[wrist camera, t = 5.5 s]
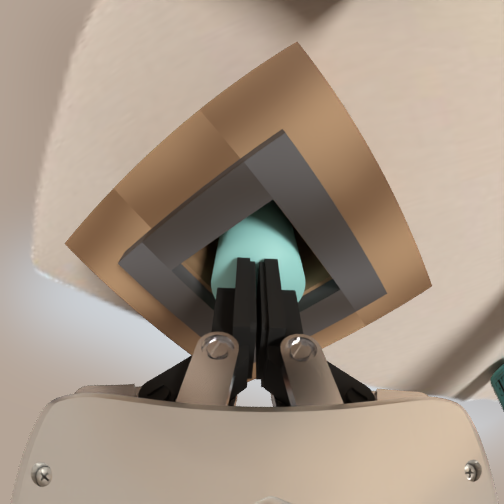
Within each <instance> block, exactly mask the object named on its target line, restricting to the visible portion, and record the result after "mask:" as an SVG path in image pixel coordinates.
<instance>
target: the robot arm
mask: <svg viewBox="0 0 504 504" xmlns="http://www.w3.org/2000/svg"><path fill="white" fill-rule="evenodd" d="M255 343H256V379H261V387H264V388H265V389H266V390H267V391H269V392H270V393H271V400H272V404H273V407H240V406H236V401H237V394H239V393H240V392H241V391H243V390H244V389H245V388H246V387H247V379H252V373H253V363H254V352H255ZM11 504H499V503H498V498H497V493H496V488H495V484H494V480H493V477H492V473H491V469H490V466H489V463H488V459H487V456H486V453H485V450H484V447H483V444H482V442H481V439H480V437H479V434H478V432H477V430H476V427H475V425H474V423H473V422H472V420H471V418H470V416H469V415H468V413H467V412H466V410H465V409H464V408H463V407H462V406H461V405H459V404H458V403H456V402H453V401H451V400H447V399H443V398H438V397H429V396H428V395H426V394H424V393H421V392H413V391H398V390H386V389H377V390H376V391H371V390H370V389H369V388H368V387H367V386H366V385H364V384H362V383H361V382H359V381H358V380H356V379H354V378H353V377H351V376H350V375H348V374H347V373H345V372H343V371H342V370H340V369H339V368H337V367H336V366H334V365H332V364H331V363H329V362H328V361H326V358H325V356H324V353H323V351H322V348H321V346H320V345H319V343H318V342H317V341H316V340H315V339H314V338H312V337H310V336H308V335H304V334H303V329H302V323H301V318H300V312H299V307H298V301H297V296H296V291H295V290H282V288H281V280H280V273H279V265H278V259H266V258H264V262H259V269H258V282H257V295H256V272H255V261H250V258H242V257H237V269H236V284H235V288H220V287H218V288H217V293H216V301H215V308H214V315H213V323H212V331H211V333H208V334H206V335H204V336H203V337H201V338H200V339H199V341H198V343H197V345H196V348H195V350H194V353H193V355H192V356H190V357H188V358H187V359H185V360H183V361H182V362H180V363H179V364H177V365H175V366H173V367H172V368H170V369H168V370H167V371H165V372H163V373H162V374H160V375H158V376H157V377H155V378H153V379H151V380H150V381H148V382H146V383H145V384H144V385H143V386H141V387H135V385H134V384H129V385H97V386H96V385H95V386H84V387H81V388H80V389H78V390H77V391H76V392H75V393H74V394H70V395H65V396H62V397H59V398H56V399H54V400H52V401H51V402H50V403H48V404H47V405H46V406H45V408H44V409H43V411H42V412H41V413H40V415H39V417H38V419H37V420H36V422H35V424H34V427H33V429H32V431H31V433H30V436H29V438H28V441H27V444H26V447H25V449H24V452H23V455H22V459H21V462H20V466H19V469H18V473H17V477H16V481H15V485H14V489H13V493H12V498H11Z"/></svg>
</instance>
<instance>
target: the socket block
mask: <svg viewBox="0 0 504 504" xmlns="http://www.w3.org/2000/svg"><path fill="white" fill-rule="evenodd" d="M272 200H274V201H275V203H276V204H277V205H278V207H279V208H280V209H281V210H282V212H283V213H284V214H285V216H286V217H287V218H288V220H289V221H290V222H291V223H292V227H293V231H294V235H295V239H296V243H297V247H298V251H299V255H300V259H301V263H302V267H303V271H304V275H305V290H304V293H303V296H302V297H301V299H300V301H299V302H298V307H299V312H300V318H301V323H302V329H303V334H304V335H308V336H310V337H312V338H314V339H315V340H316V341H317V342H318V343H319V345H320V346H321V348H324V347H326V346H328V345H330V344H332V343H334V342H336V341H338V340H340V339H342V338H344V337H346V336H348V335H350V334H352V333H354V332H355V331H357V330H359V329H361V328H363V327H365V326H366V325H368V324H370V323H372V322H374V321H375V320H377V319H379V318H381V317H382V316H384V315H386V314H388V313H389V312H391V311H393V310H394V309H396V308H398V307H400V306H401V305H403V304H404V303H406V302H408V301H409V300H411V299H413V298H414V297H416V296H417V295H419V294H421V293H422V292H424V291H425V290H427V289H428V288H430V287H432V284H431V282H430V279H429V276H428V273H427V271H426V268H425V265H424V263H423V260H422V258H421V255H420V253H419V250H418V248H417V245H416V243H415V240H414V238H413V236H412V233H411V231H410V229H409V226H408V224H407V222H406V220H405V217H404V215H403V213H402V211H401V209H400V207H399V204H398V202H397V200H396V198H395V196H394V194H393V192H392V190H391V188H390V186H389V184H388V182H387V180H386V178H385V176H384V174H383V172H382V171H381V169H380V167H379V165H378V163H377V161H376V159H375V158H374V156H373V154H372V152H371V150H370V149H369V147H368V145H367V143H366V142H365V140H364V138H363V137H362V135H361V133H360V132H359V130H358V128H357V127H356V125H355V123H354V122H353V120H352V118H351V117H350V115H349V114H348V112H347V110H346V109H345V107H344V106H343V104H342V103H341V101H340V100H339V98H338V97H337V95H336V94H335V92H334V91H333V89H332V88H331V86H330V85H329V84H328V82H327V81H326V79H325V78H324V76H323V75H322V74H321V72H320V71H319V69H318V68H317V67H316V65H315V64H314V63H313V61H312V60H311V59H310V57H309V56H308V55H307V53H306V52H305V51H304V50H303V48H302V47H301V46H300V44H299V43H298V42H296V43H294V44H292V45H291V46H289V47H287V48H286V49H284V50H283V51H281V52H279V53H278V54H276V55H275V56H273V57H272V58H270V59H269V60H267V61H266V62H264V63H263V64H261V65H260V66H258V67H257V68H255V69H254V70H252V71H251V72H249V73H248V74H246V75H245V76H244V77H242V78H241V79H239V80H238V81H237V82H235V83H234V84H232V85H231V86H230V87H228V88H227V89H226V90H224V91H223V92H222V93H220V94H219V95H218V96H216V97H215V98H214V99H213V100H211V101H210V102H209V103H207V104H206V105H205V106H204V107H202V108H201V109H200V110H199V111H197V112H196V113H195V114H194V115H192V116H191V117H190V118H189V119H188V120H186V121H185V122H184V123H183V124H182V125H180V126H179V127H178V128H177V129H176V130H175V131H173V132H172V133H171V134H170V135H169V136H168V137H167V138H166V139H164V140H163V141H162V142H161V143H160V144H159V145H158V146H157V147H156V148H154V149H153V150H152V151H151V152H150V153H149V154H148V155H147V156H146V157H145V158H144V159H143V160H142V161H141V162H140V163H138V164H137V165H136V166H135V167H134V168H133V169H132V170H131V171H130V172H129V173H128V174H127V175H126V176H125V177H124V178H123V179H122V180H121V181H120V182H119V183H118V184H117V185H116V186H115V187H114V189H113V190H112V191H111V192H110V193H109V194H108V195H107V196H106V197H105V198H104V199H103V200H102V201H101V202H100V203H99V204H98V206H97V207H96V208H95V209H94V210H93V211H92V212H91V213H90V214H89V216H88V217H87V218H86V219H85V220H84V221H83V222H82V224H81V225H80V226H79V227H78V228H77V229H76V231H75V232H74V233H73V234H72V235H71V237H70V238H69V239H68V240H67V241H66V243H65V244H66V245H67V246H68V248H69V249H70V250H71V251H72V252H73V253H74V254H75V255H76V256H77V257H78V258H79V259H80V260H81V261H82V262H83V263H84V264H85V265H86V266H87V267H89V268H90V269H91V270H92V271H93V272H94V273H95V274H96V275H97V276H98V277H99V278H100V279H101V280H102V281H103V282H104V283H105V284H106V285H108V286H109V287H110V288H111V289H112V290H113V291H114V292H115V293H116V294H117V295H119V296H120V297H121V298H122V299H123V300H124V301H125V302H126V303H128V304H129V305H130V306H131V307H132V308H133V309H135V310H136V311H137V312H138V313H139V314H140V315H142V316H143V317H144V318H145V319H146V320H148V321H149V322H150V323H151V324H152V325H154V326H155V327H156V328H157V329H158V330H160V331H161V332H162V333H164V334H165V335H166V336H167V337H168V338H170V339H171V340H172V341H174V342H175V343H176V344H177V345H179V346H180V347H181V348H183V349H184V350H185V351H187V352H188V353H189V354H191V355H193V353H194V350H195V348H196V345H197V343H198V341H199V339H200V338H201V337H203V336H204V335H206V334H208V333H211V331H212V323H213V315H214V308H215V301H216V299H215V297H214V295H213V292H212V288H211V279H212V274H213V268H214V263H215V257H216V252H217V247H218V241H219V236H221V235H222V234H224V233H225V232H226V231H228V230H229V229H231V228H232V227H234V226H235V225H236V224H238V223H239V222H241V221H242V220H244V219H245V218H247V217H248V216H250V215H251V214H252V213H254V212H255V211H257V210H258V209H260V208H261V207H263V206H264V205H266V204H267V203H269V202H270V201H272ZM253 379H256V343H255V352H254V363H253V373H252V379H247V382H249V381H251V380H253Z"/></svg>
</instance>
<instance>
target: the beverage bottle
mask: <svg viewBox="0 0 504 504" xmlns="http://www.w3.org/2000/svg"><path fill="white" fill-rule="evenodd" d="M491 384H492V386H493V388H494V391H495V392H494V393H495V395H497V397H498V398H497V399H499V400H498V401H500V403H501V405H502V407H503V410H504V364H503V365H502V366H501V367H499V368H498V369H497V370H496V371H495V373H494V374H493V375H492V377H491Z"/></svg>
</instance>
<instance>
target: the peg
mask: <svg viewBox="0 0 504 504" xmlns="http://www.w3.org/2000/svg"><path fill="white" fill-rule="evenodd" d="M237 257H242V258H250V261H255V272H256V295H257V282H258V269H259V262H264V258H266V259H278V265H279V273H280V280H281V288H282V290H295V291H296V296H297V301H298V302H299V301H300V299H301V297H302V296H303V293H304V290H305V275H304V271H303V267H302V263H301V259H300V255H299V251H298V247H297V243H296V239H295V235H294V231H293V227H292V223H291V222H290V221H289V220H288V218H287V217H286V216H285V214H284V213H283V212H282V210H281V209H280V208H279V207H278V205H277V204H276V203H275V201H274V200H272V201H270V202H269V203H267V204H266V205H264V206H263V207H261V208H260V209H258V210H257V211H255V212H254V213H252V214H251V215H250V216H248V217H247V218H245V219H244V220H242V221H241V222H239V223H238V224H236V225H235V226H234V227H232V228H231V229H229V230H228V231H226V232H225V233H224V234H222V235H221V236H219V241H218V247H217V252H216V257H215V263H214V268H213V274H212V279H211V288H212V292H213V295H214V297H215V299H216V293H217V288H218V287H220V288H235V284H236V269H237Z"/></svg>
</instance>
